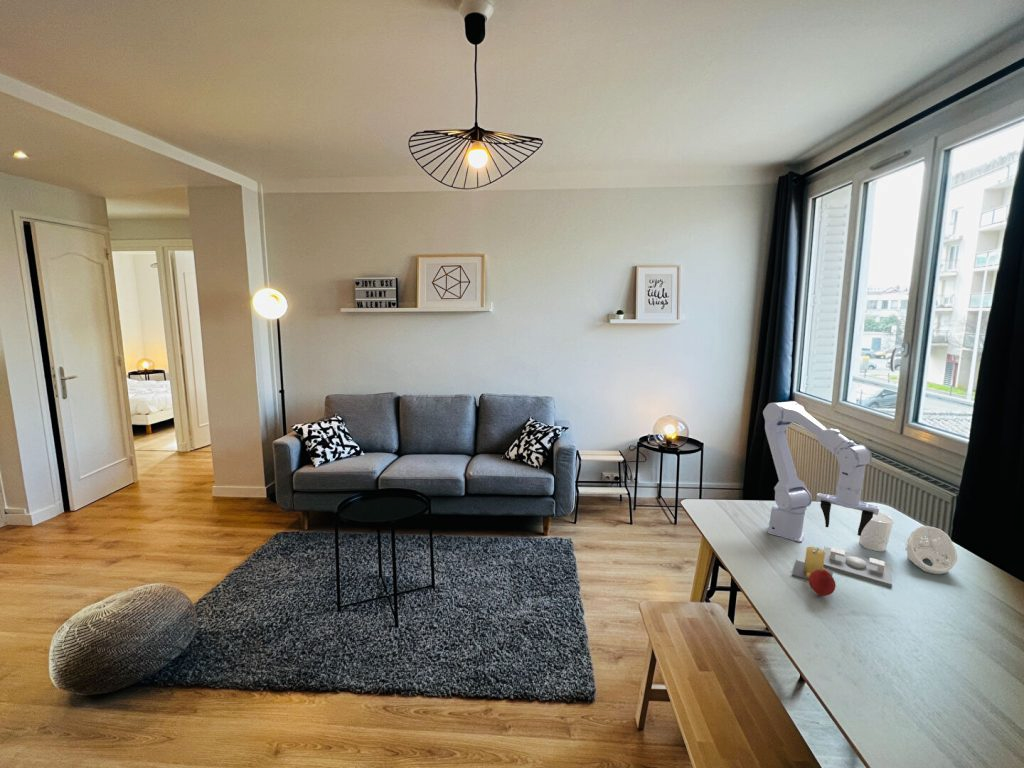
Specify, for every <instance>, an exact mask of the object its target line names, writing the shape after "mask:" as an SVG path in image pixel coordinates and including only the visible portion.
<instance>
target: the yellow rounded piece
mask: <svg viewBox="0 0 1024 768" xmlns="http://www.w3.org/2000/svg"><path fill="white" fill-rule="evenodd" d="M805 549H806V551H805V558H804V562H805V564H804V571H805V572H806V573H807V574H806V577H809V576H810V574H811V573H812V572H814V571H816V570H820V569H821V568H820V567H823V566H824V559H825V552H824V549H822V548H820V547H817V546H809V547H806V548H805Z"/></svg>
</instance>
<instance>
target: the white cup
mask: <svg viewBox="0 0 1024 768" xmlns="http://www.w3.org/2000/svg"><path fill="white" fill-rule="evenodd" d="M861 515H862V513H861ZM861 515H860V516H861ZM893 525H894V518H892V517H891V516H889V515H887V514H885V513H882V512H878V515H874V514H873V518H872V519H871V520H870V521H869V522H868V523H867V524H866V526H865V527H864V529H863V531H862V533H861V536H859V542H858V543H859V545H860V546H862V547H863V548H866V549H868V550H871V551H873V552H874V551H876V552H886V550H887V547H888V543H889V540H890V538H891V533H892V529H893Z"/></svg>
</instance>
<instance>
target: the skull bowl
mask: <svg viewBox="0 0 1024 768" xmlns="http://www.w3.org/2000/svg"><path fill="white" fill-rule="evenodd" d="M904 545H905V551H906V556H907V558H908V559H909V561H910V562H912V563H914V565H915V566H917V567H918V568H920V570H922V571H924V572H926V573H929V574H934V575H941V574H947V573H948V572H949V571H950V570H951V569H953V568H954V566H955V565H956V563H958V552H957V550H956V547H955V545H954V544H953V541H952V539H951V537H950V536H949V535H948V534H947V533H946V532H945V531H943V530H942V529H940V528H937V527H933V526H930V525H929V526H928V525H922V526H919V527H916V528H915V529H914V531H912V532H911V533H910V534H909V536H908V537H907V538H906V541H905V543H904ZM925 559H927V560H929V562H930V563H932V565H928V564H926V563H924V561H923V560H925Z"/></svg>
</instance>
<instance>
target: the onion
mask: <svg viewBox="0 0 1024 768" xmlns="http://www.w3.org/2000/svg"><path fill="white" fill-rule="evenodd" d="M820 568H821V569H820V570H816V571H814V572H812V573H811V574H810V576H809V579H808V581H807V582H808V584H809V587H810V588H811V589H812V591H813V592H814V593H816V595H817V596H819V597H827V596H829V595H832V594H833V593H834V591H835V590H836V587H837V585H836V581H835V579H834V577H833V575H832V576H831V574H830V573H828V572H827V571H826V570H825V569H826V568H823V567H820Z"/></svg>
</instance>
